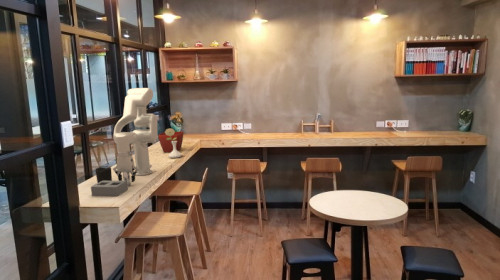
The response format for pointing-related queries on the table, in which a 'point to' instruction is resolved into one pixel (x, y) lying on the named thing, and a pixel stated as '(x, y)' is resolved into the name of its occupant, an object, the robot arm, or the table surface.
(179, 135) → the plant pot
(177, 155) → the flower in vase
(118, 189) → the hole block
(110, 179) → the pen holder
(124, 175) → the steel pin
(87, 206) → the table surface
